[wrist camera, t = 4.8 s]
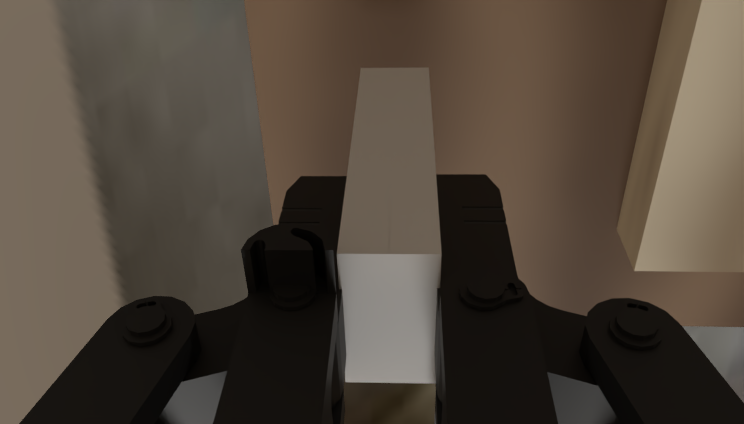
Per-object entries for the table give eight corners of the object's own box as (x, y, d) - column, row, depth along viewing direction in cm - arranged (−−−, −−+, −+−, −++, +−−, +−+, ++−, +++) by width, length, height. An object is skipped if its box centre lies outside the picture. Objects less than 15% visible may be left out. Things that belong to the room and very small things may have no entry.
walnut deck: (1106, -368, 16) (1290, -394, 12) (827, 253, 26) (887, 329, 23) (239, -337, 17) (197, -354, 13) (300, 248, 27) (286, 319, 24)
